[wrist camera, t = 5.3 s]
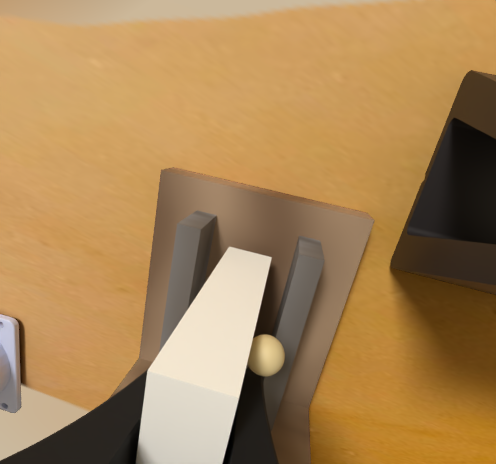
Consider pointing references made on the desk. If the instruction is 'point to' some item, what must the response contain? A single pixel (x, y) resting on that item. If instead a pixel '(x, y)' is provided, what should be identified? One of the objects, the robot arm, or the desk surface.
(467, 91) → the phone stand
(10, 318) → the robot arm
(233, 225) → the brown base with rails
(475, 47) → the desk surface
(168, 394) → the cabinet door
